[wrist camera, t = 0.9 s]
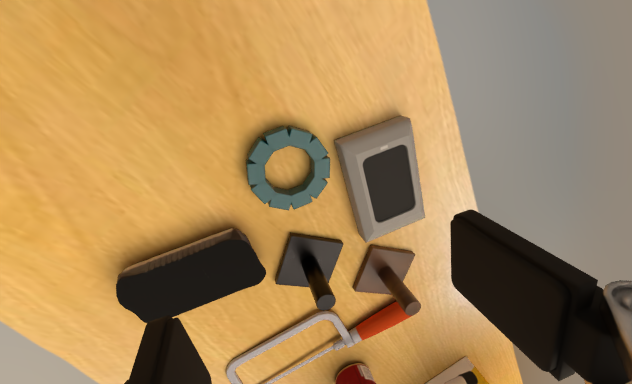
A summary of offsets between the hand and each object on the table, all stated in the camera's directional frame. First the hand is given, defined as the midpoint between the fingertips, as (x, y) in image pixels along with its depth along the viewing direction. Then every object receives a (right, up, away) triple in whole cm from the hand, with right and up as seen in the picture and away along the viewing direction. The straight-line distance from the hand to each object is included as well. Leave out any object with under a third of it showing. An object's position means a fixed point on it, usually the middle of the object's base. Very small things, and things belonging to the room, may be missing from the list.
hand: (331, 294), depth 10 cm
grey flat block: (+8, +5, +32) cm, 34 cm away
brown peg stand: (+10, -9, +39) cm, 41 cm away
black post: (-2, -7, +34) cm, 35 cm away
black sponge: (-16, -6, +30) cm, 35 cm away
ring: (-4, +7, +28) cm, 29 cm away
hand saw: (0, -20, +40) cm, 45 cm away
